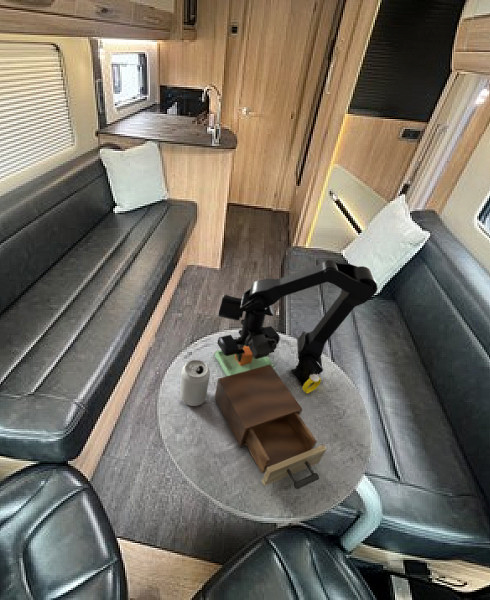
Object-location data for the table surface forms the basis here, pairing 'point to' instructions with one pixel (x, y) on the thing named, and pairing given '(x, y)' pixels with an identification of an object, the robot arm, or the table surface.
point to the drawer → (284, 450)
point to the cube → (245, 356)
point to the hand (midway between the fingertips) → (244, 359)
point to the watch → (311, 379)
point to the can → (194, 382)
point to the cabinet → (254, 400)
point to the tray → (233, 366)
